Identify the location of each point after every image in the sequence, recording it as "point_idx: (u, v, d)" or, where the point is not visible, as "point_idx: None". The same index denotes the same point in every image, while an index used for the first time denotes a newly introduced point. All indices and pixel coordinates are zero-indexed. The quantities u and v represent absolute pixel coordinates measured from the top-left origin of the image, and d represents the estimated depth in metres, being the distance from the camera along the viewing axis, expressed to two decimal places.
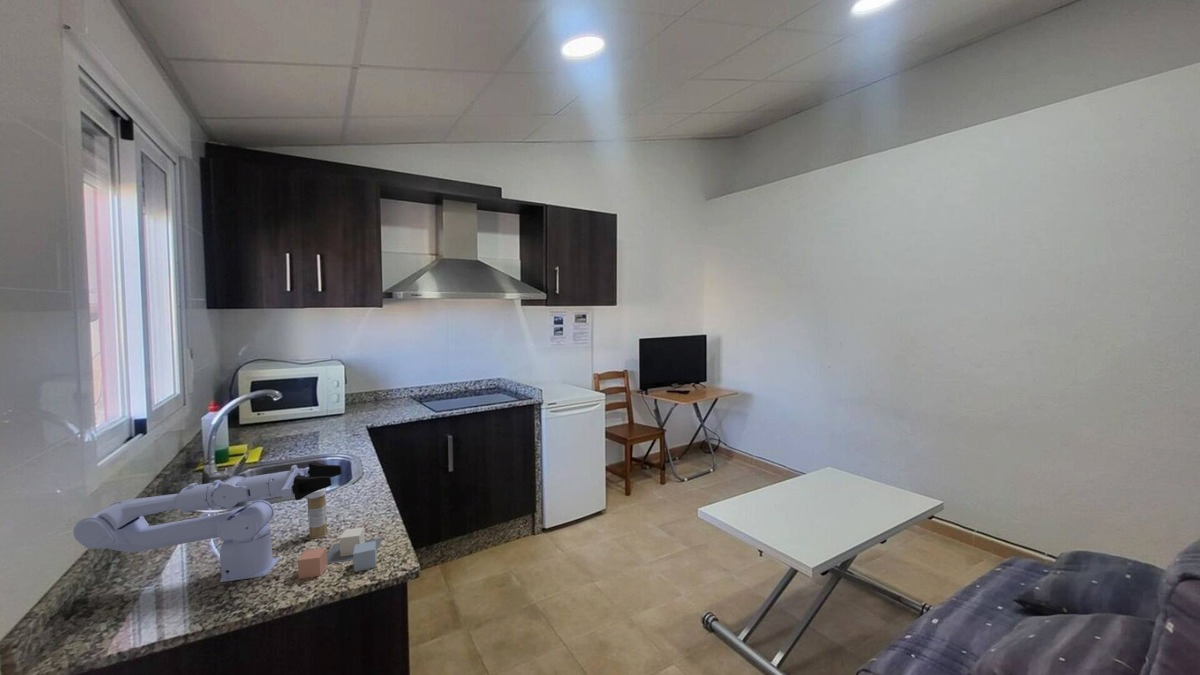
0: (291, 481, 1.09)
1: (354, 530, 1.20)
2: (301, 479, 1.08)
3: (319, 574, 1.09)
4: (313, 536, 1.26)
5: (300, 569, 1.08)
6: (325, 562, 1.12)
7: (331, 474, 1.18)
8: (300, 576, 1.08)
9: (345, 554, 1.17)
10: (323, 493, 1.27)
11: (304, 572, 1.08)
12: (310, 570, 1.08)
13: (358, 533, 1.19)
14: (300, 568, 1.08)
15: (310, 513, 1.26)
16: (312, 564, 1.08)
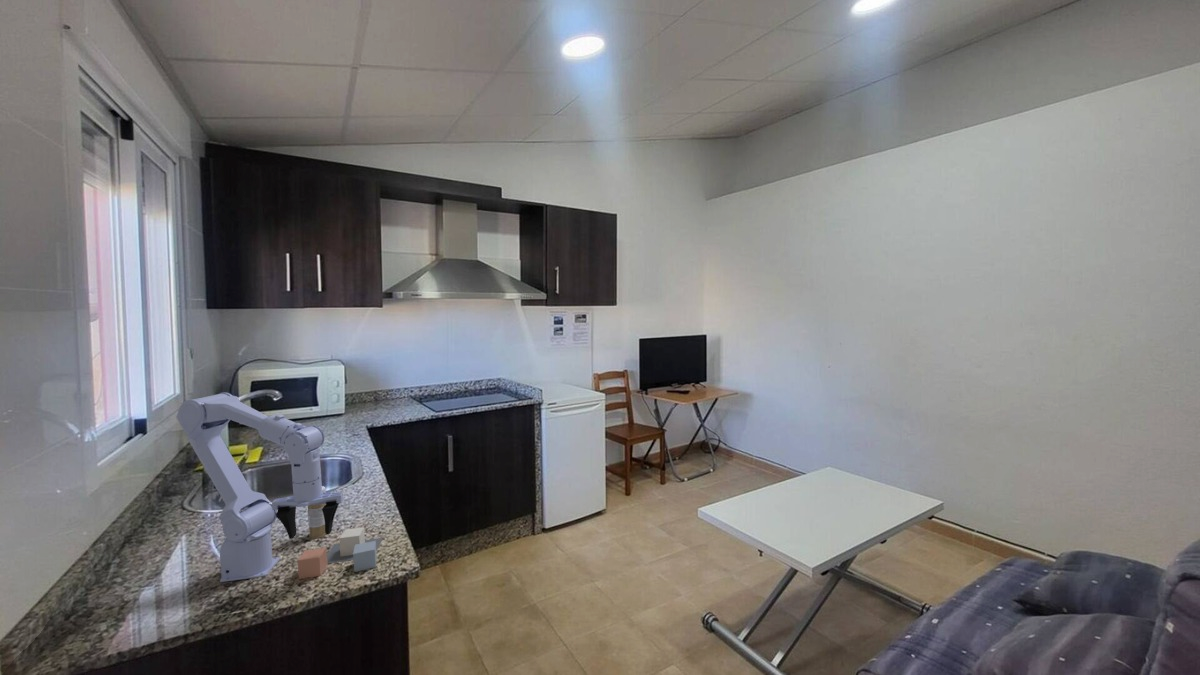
0: None
1: (354, 530, 1.20)
2: None
3: (319, 574, 1.09)
4: (313, 536, 1.26)
5: (300, 569, 1.08)
6: (325, 562, 1.12)
7: None
8: (300, 576, 1.08)
9: (345, 554, 1.17)
10: None
11: (304, 572, 1.08)
12: (310, 570, 1.08)
13: (358, 533, 1.19)
14: (300, 568, 1.08)
15: (310, 513, 1.26)
16: (312, 564, 1.08)
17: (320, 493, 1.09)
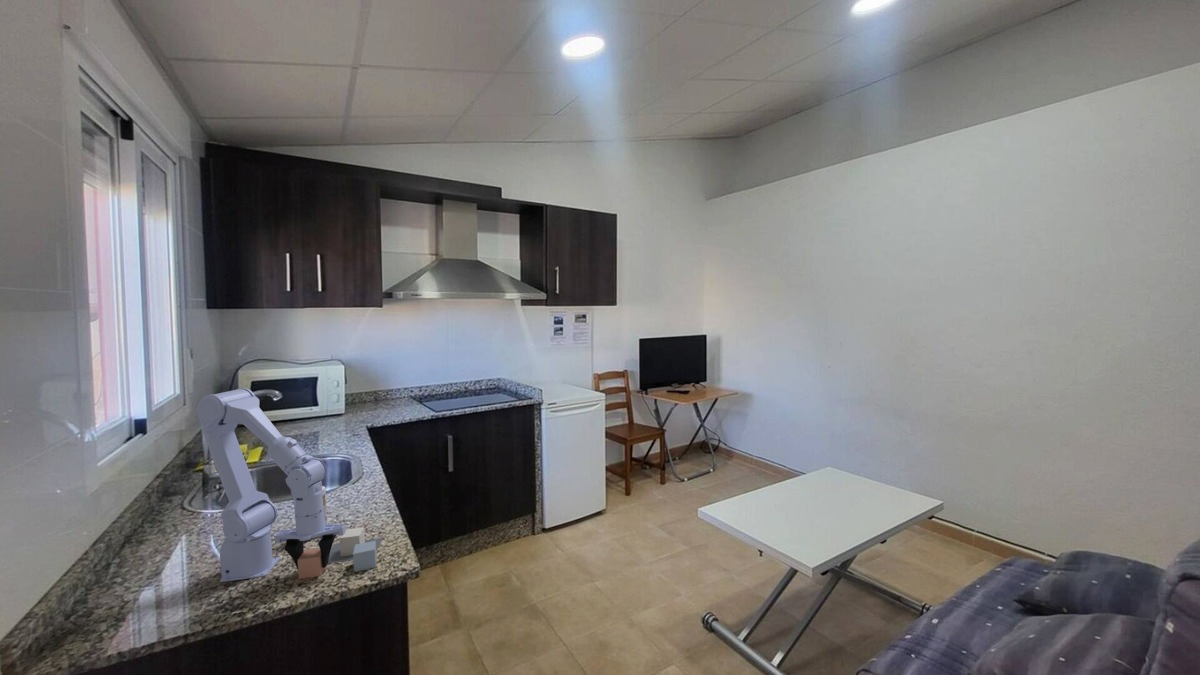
0: None
1: (354, 530, 1.20)
2: None
3: (319, 574, 1.09)
4: None
5: (300, 569, 1.08)
6: None
7: None
8: (300, 576, 1.08)
9: (345, 554, 1.17)
10: (323, 493, 1.27)
11: (304, 572, 1.08)
12: (310, 569, 1.08)
13: (358, 533, 1.19)
14: (300, 567, 1.08)
15: None
16: (312, 564, 1.08)
17: (322, 526, 1.10)
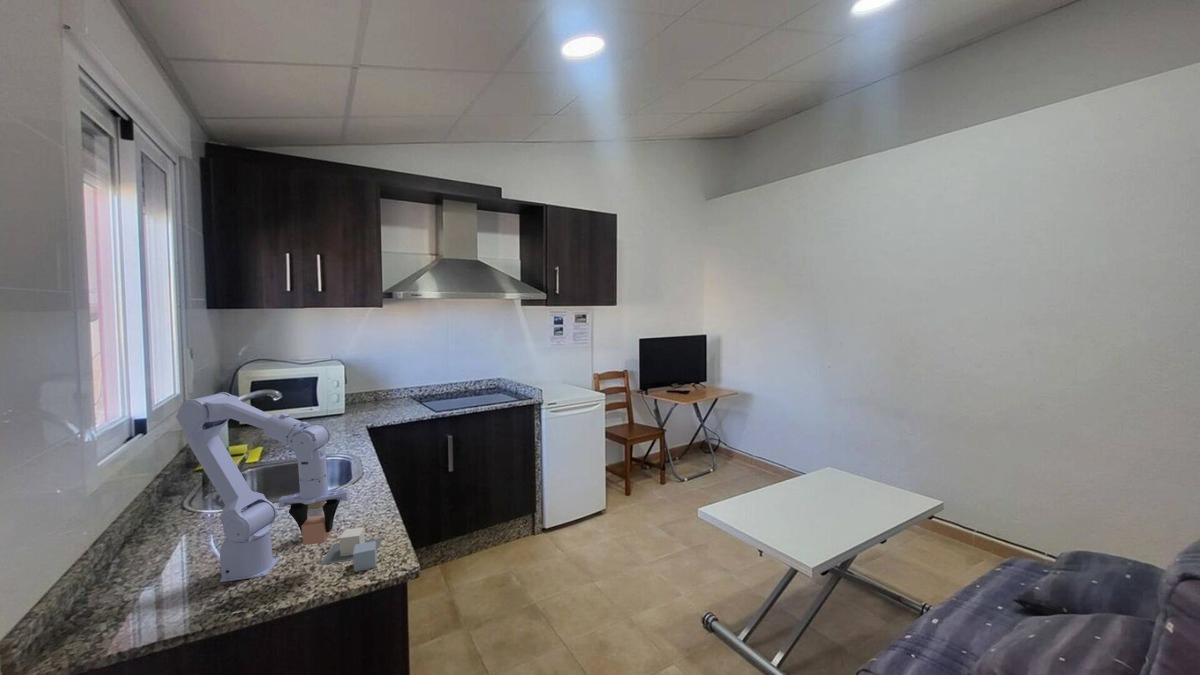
0: None
1: (354, 530, 1.20)
2: None
3: (323, 539, 1.09)
4: None
5: (304, 534, 1.08)
6: None
7: None
8: (304, 541, 1.08)
9: (345, 554, 1.17)
10: None
11: (308, 537, 1.08)
12: (314, 535, 1.09)
13: (358, 533, 1.19)
14: (304, 533, 1.08)
15: (310, 513, 1.26)
16: (316, 529, 1.09)
17: (326, 491, 1.10)
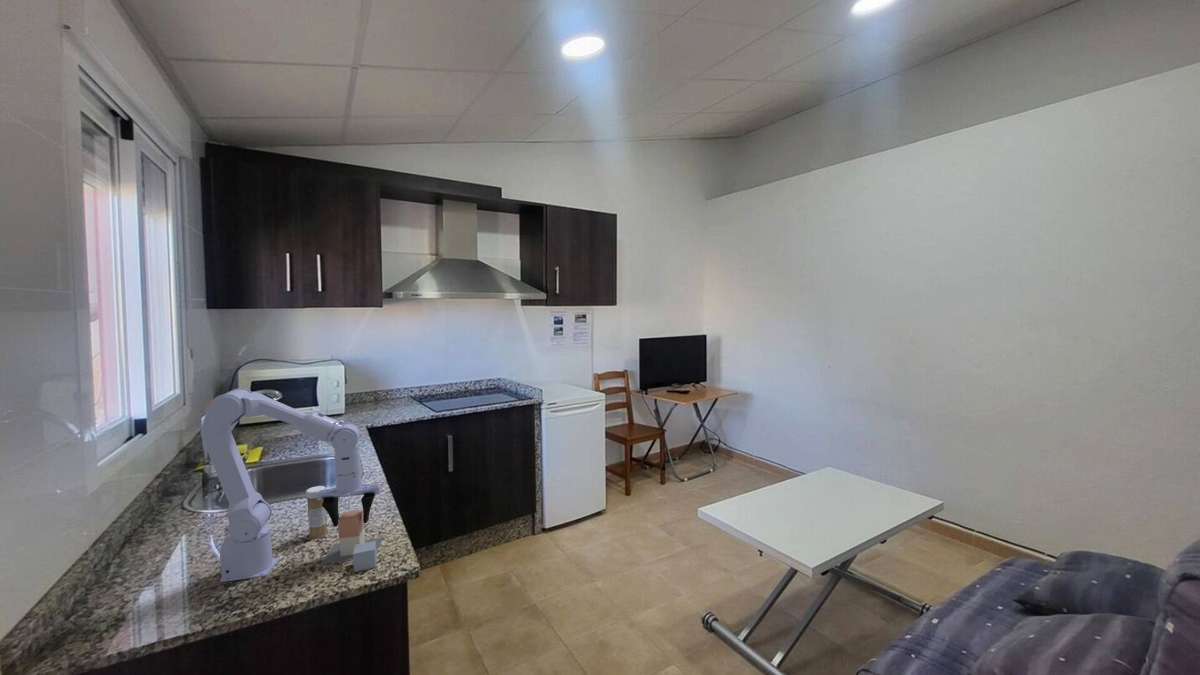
0: None
1: None
2: (324, 508, 1.15)
3: (357, 533, 1.17)
4: (313, 536, 1.26)
5: (340, 528, 1.16)
6: (362, 523, 1.21)
7: None
8: (340, 535, 1.16)
9: (345, 554, 1.17)
10: None
11: (344, 531, 1.16)
12: (349, 529, 1.17)
13: None
14: (340, 527, 1.16)
15: (310, 513, 1.26)
16: (351, 524, 1.17)
17: (360, 485, 1.18)
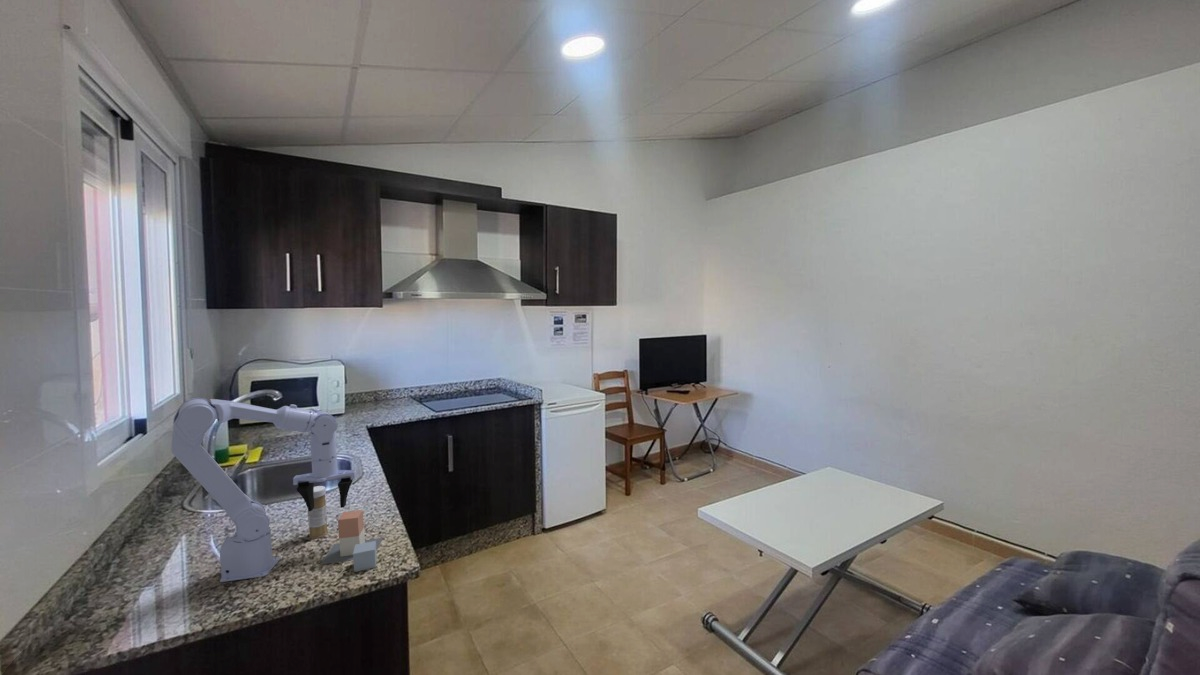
0: None
1: None
2: None
3: (357, 533, 1.17)
4: (313, 536, 1.26)
5: (340, 528, 1.16)
6: (362, 523, 1.21)
7: None
8: (340, 535, 1.16)
9: (345, 554, 1.17)
10: (323, 493, 1.27)
11: (344, 531, 1.16)
12: (349, 529, 1.17)
13: None
14: (340, 527, 1.16)
15: (310, 513, 1.26)
16: (351, 524, 1.17)
17: (336, 470, 1.22)
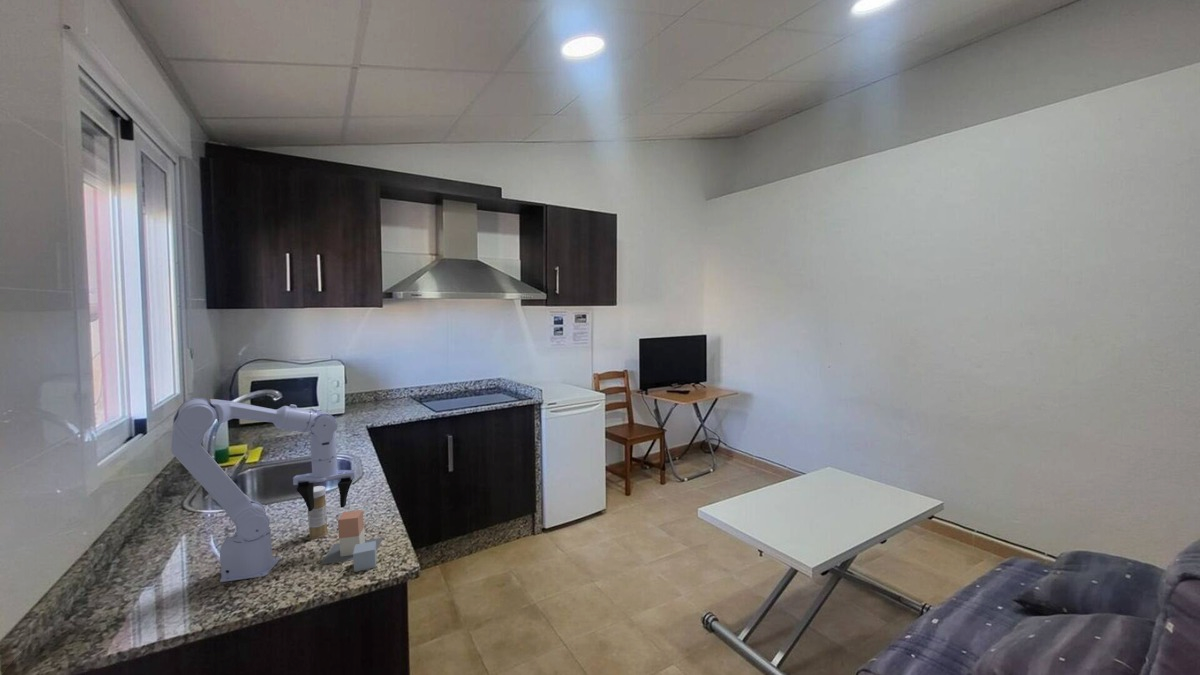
0: None
1: None
2: None
3: (357, 533, 1.17)
4: (313, 536, 1.26)
5: (340, 528, 1.16)
6: (362, 523, 1.21)
7: None
8: (340, 535, 1.16)
9: (345, 554, 1.17)
10: (323, 493, 1.27)
11: (344, 531, 1.16)
12: (349, 529, 1.17)
13: None
14: (340, 527, 1.16)
15: (310, 513, 1.26)
16: (351, 524, 1.17)
17: (336, 470, 1.22)
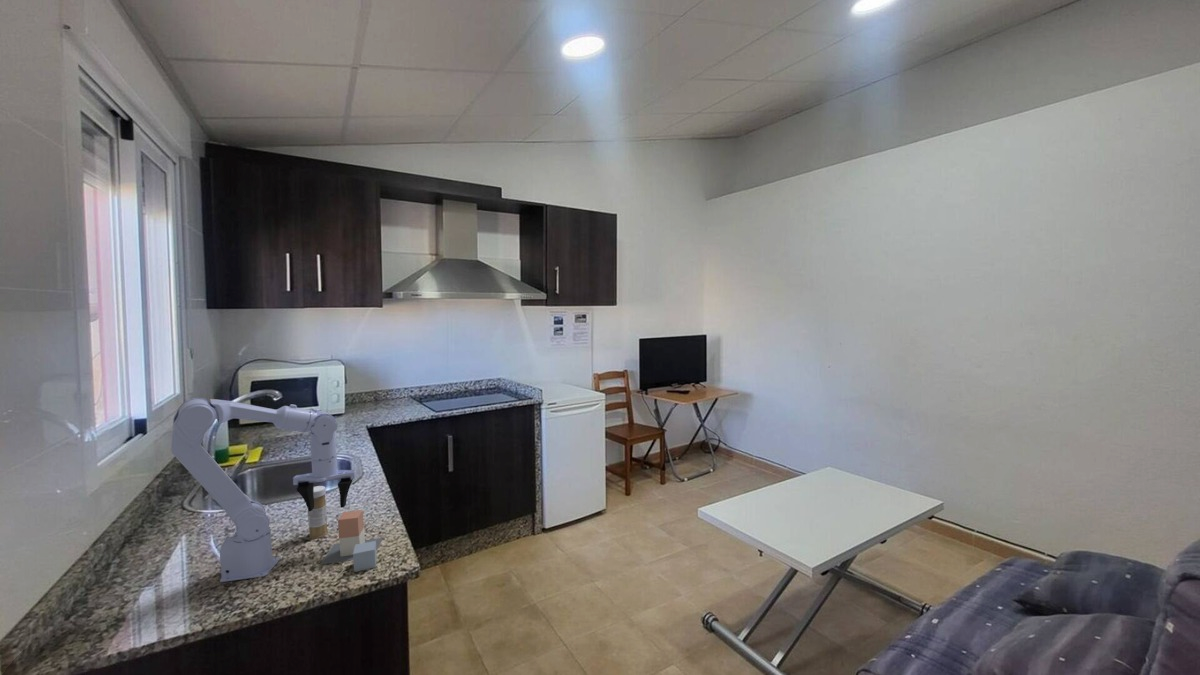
0: None
1: None
2: None
3: (357, 533, 1.17)
4: (313, 536, 1.26)
5: (340, 528, 1.16)
6: (362, 523, 1.21)
7: None
8: (340, 535, 1.16)
9: (345, 554, 1.17)
10: (323, 493, 1.27)
11: (344, 531, 1.16)
12: (349, 529, 1.17)
13: None
14: (340, 527, 1.16)
15: (310, 513, 1.26)
16: (351, 524, 1.17)
17: (336, 470, 1.22)
